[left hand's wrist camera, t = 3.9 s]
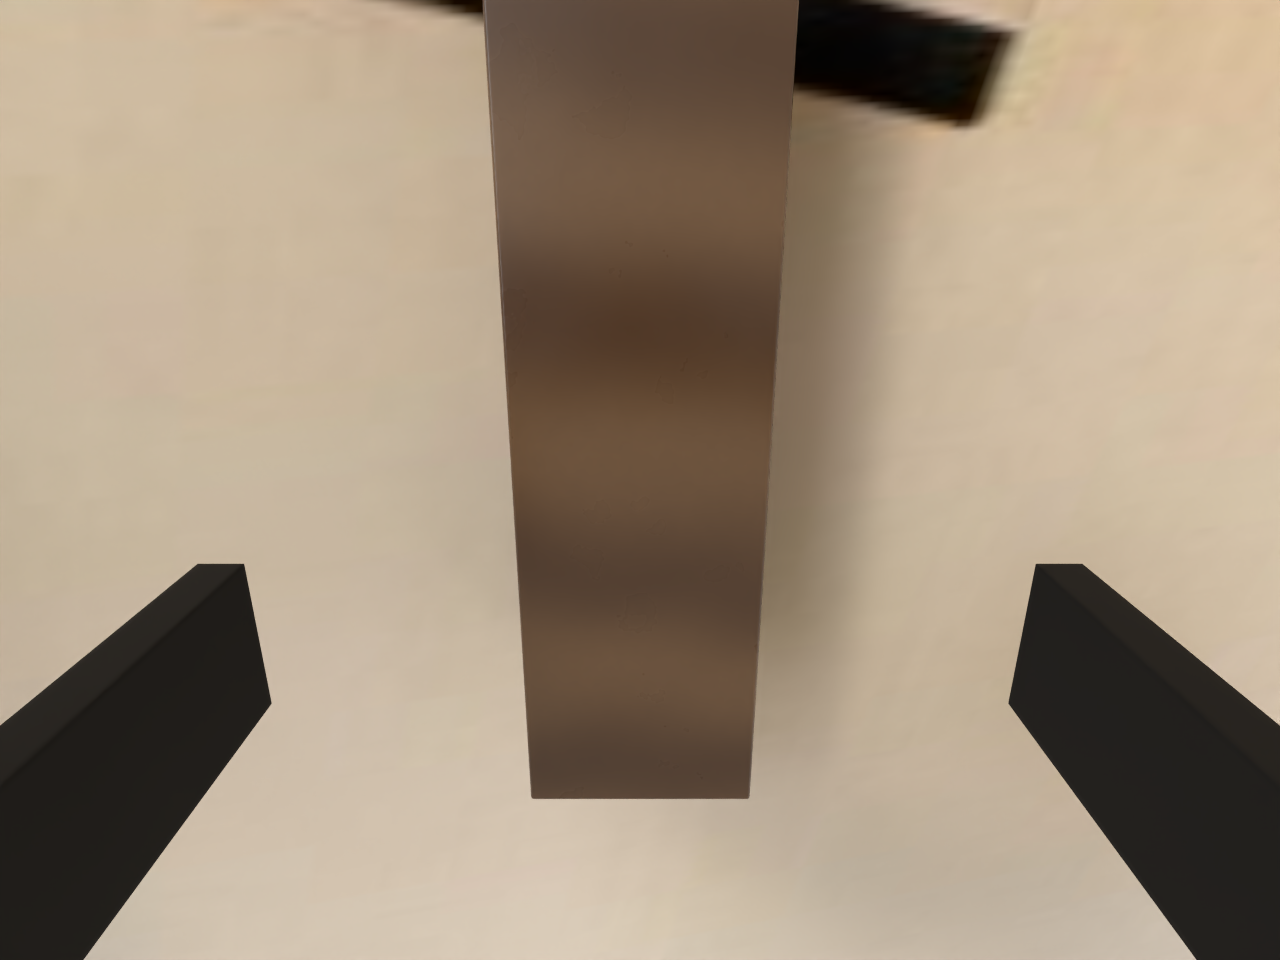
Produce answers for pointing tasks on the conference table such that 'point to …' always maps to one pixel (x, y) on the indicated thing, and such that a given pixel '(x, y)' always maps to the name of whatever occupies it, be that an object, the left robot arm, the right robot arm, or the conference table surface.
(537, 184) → the bar
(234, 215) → the conference table surface
